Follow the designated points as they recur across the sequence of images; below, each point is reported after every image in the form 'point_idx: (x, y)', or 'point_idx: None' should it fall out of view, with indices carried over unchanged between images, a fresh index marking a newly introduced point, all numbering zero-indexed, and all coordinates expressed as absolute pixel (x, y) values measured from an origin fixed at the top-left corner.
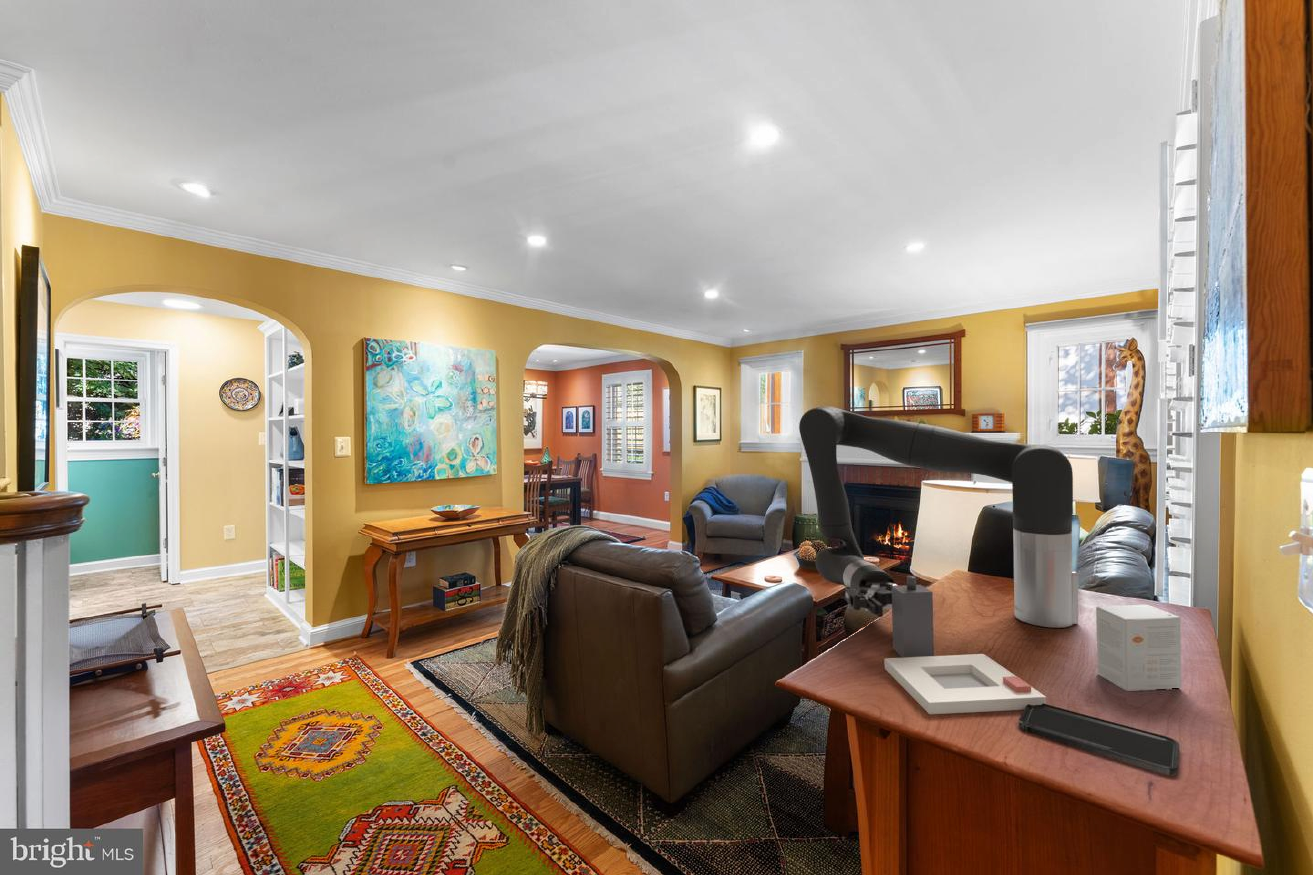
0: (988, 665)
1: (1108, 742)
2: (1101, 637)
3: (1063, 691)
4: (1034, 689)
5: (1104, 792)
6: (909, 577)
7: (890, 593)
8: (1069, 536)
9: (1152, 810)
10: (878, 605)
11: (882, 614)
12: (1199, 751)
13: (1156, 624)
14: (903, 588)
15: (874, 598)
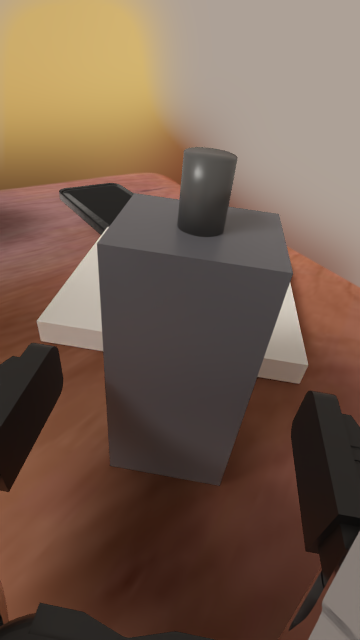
0: (88, 288)
1: (123, 202)
2: None
3: (28, 255)
4: (101, 236)
5: None
6: (226, 154)
7: (115, 632)
8: None
9: (174, 185)
10: (332, 394)
11: (295, 417)
12: (49, 191)
13: None
14: (240, 237)
15: (297, 628)
